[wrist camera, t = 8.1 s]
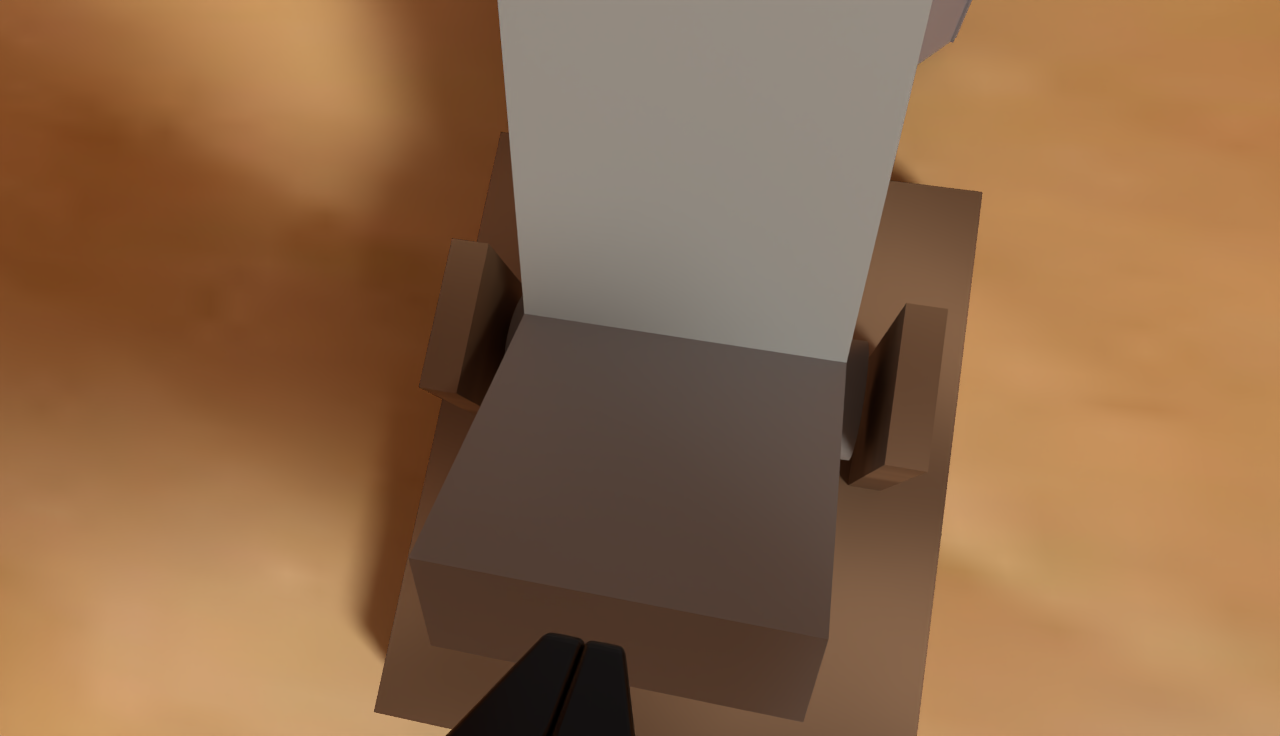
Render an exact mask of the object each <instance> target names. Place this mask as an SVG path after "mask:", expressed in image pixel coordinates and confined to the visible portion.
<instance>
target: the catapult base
mask: <svg viewBox="0 0 1280 736" xmlns="http://www.w3.org/2000/svg"><path fill="white" fill-rule="evenodd" d="M981 200H982V192H978V191H970V190H962V189H954V188H946V187H938V186H929V185H921V184H913V183H905V182H897V181H890V182H889V186H888V190H887V195H886V199H885V203H884V207H883V211H882V216H881V220H880V224H879V228H878V232H877V237H876V241H875V245H874V249H873V254H872V258H871V262H870V266H869V270H868V275H867V279H866V283H865V287H864V291H863V296H862V300H861V304H860V308H859V312H858V317H857V321H856V325H855V329H854V334H853V338H852V339H854V340H861V341H867V342H868V345H869V360H868V373H867V382H866V389H865V396H864V403H863V409H862V415H861V420H860V425H859V430H858V434H857V439H856V443H855V446H854V450H853V453H852V456H851V458H850V460H842V459H840V471H839V487H838V502H837V517H836V533H835V548H834V563H833V579H832V594H831V609H830V625H829V640H828V643H827V646H826V649H825V653H824V656H823V659H822V662H821V666H820V669H819V672H818V676H817V679H816V682H815V685H814V689H813V692H812V695H811V699H810V702H809V705H808V708H807V712H806V715H805V718H804V722H799V721H794V720H789V719H784V718H780V717H775V716H770V715H765V714H760V713H755V712H751V711H746V710H741V709H736V708H731V707H726V706H722V705H717V704H712V703H707V702H702V701H697V700H693V699H688V698H683V697H678V696H673V695H668V694H664V693H659V692H654V691H649V690H644V689H639V688H635V687H630V695H631V703H632V711H633V720H634V728H635V736H917V730H918V722H919V713H920V705H921V697H922V689H923V680H924V672H925V664H926V655H927V647H928V639H929V631H930V622H931V614H932V606H933V597H934V589H935V581H936V573H937V564H938V556H939V548H940V539H941V531H942V523H943V515H944V506H945V498H946V490H947V482H948V473H949V465H950V457H951V448H952V440H953V432H954V424H955V415H956V407H957V399H958V390H959V382H960V374H961V366H962V357H963V349H964V341H965V332H966V324H967V316H968V308H969V299H970V291H971V283H972V274H973V266H974V258H975V250H976V241H977V233H978V225H979V217H980V208H981ZM522 295H523V291H522V280H521V268H520V256H519V245H518V233H517V221H516V210H515V198H514V186H513V175H512V163H511V152H510V140H509V133H504V132H501V134H500V139H499V143H498V148H497V152H496V157H495V162H494V166H493V171H492V175H491V180H490V184H489V189H488V193H487V198H486V203H485V207H484V212H483V216H482V221H481V225H480V230H479V235H478V239H477V242H474V241H467V240H460V239H453V238H452V241H451V246H450V250H449V255H448V259H447V264H446V268H445V273H444V277H443V281H442V286H441V290H440V295H439V299H438V304H437V308H436V313H435V317H434V322H433V326H432V331H431V335H430V339H429V344H428V348H427V353H426V357H425V362H424V366H423V371H422V375H421V380H420V384H419V388H421V389H423V390H425V391H428V392H430V393H432V394H434V395H436V396H438V397H440V398H442V403H441V408H440V413H439V417H438V422H437V426H436V431H435V435H434V440H433V444H432V449H431V454H430V458H429V463H428V467H427V472H426V476H425V481H424V486H423V490H422V495H421V499H420V504H419V508H418V513H417V517H416V522H415V527H414V531H413V536H412V540H411V545H410V549H409V554H408V557H409V555H410V553H411V551H412V549H413V547H414V545H415V543H416V541H417V539H418V536H419V534H420V532H421V530H422V528H423V526H424V524H425V522H426V520H427V517H428V515H429V513H430V511H431V509H432V507H433V505H434V503H435V501H436V499H437V496H438V494H439V492H440V490H441V488H442V486H443V484H444V482H445V480H446V478H447V475H448V473H449V471H450V469H451V467H452V465H453V463H454V461H455V459H456V456H457V454H458V452H459V450H460V448H461V446H462V444H463V442H464V440H465V438H466V435H467V433H468V431H469V429H470V427H471V425H472V423H473V421H474V419H475V417H476V414H477V412H478V410H479V408H480V406H481V404H482V402H483V400H484V398H485V395H486V393H487V391H488V389H489V387H490V385H491V383H492V381H493V379H494V377H495V374H496V372H497V370H498V368H499V366H500V364H501V362H502V360H503V358H504V353H505V346H506V340H507V335H508V331H509V326H510V323H511V319H512V316H513V313H514V311H515V308H516V306H517V304H518V302H519V300H520V298H521V297H522ZM515 664H516V663H514V662H509V661H504V660H499V659H494V658H490V657H485V656H480V655H475V654H470V653H465V652H461V651H456V650H451V649H446V648H441V647H436V646H432V645H431V644H430V640H429V636H428V632H427V628H426V624H425V620H424V617H423V613H422V609H421V605H420V601H419V597H418V594H417V590H416V586H415V582H414V578H413V574H412V570H411V567H410V563H409V559H407V563H406V568H405V572H404V577H403V581H402V586H401V590H400V595H399V600H398V604H397V609H396V613H395V618H394V622H393V627H392V632H391V636H390V641H389V645H388V650H387V654H386V659H385V664H384V668H383V673H382V677H381V682H380V686H379V691H378V695H377V700H376V705H375V709H374V712H376V713H380V714H385V715H390V716H394V717H399V718H403V719H408V720H412V721H417V722H422V723H426V724H431V725H435V726H440V727H444V728H449V729H453V728H454V727H455V726H456V725H457V724H458V723H459V721H460V720H461V719H462V718H463V717H464V716H465V715H466V714H467V713H468V712H469V711H470V710H471V709H472V708H473V707H474V706H475V705H476V704H477V703H478V702H479V701H480V700H481V699H482V698H483V697H484V696H485V695H486V694H487V693H488V691H489V690H490V689H491V688H492V687H493V686H494V685H495V684H496V683H497V682H498V681H499V680H500V679H501V678H502V677H503V676H504V675H505V674H506V673H507V672H508V671H509V670H510V669H511V668H512V667H513V666H514V665H515Z"/></svg>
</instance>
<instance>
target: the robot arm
mask: <svg viewBox="0 0 1280 736" xmlns="http://www.w3.org/2000/svg"><path fill="white" fill-rule="evenodd" d="M446 736H635V728H634V720H633V711H632V703H631V695H630V686H629V678H628V669H627V661H626V654H625V650H624V649H623V648H622V647H621V646H619V645H614V644H609V643H604V642H599V641H594V640H593V641H588V642H587V643H586V644H585V643H584V641H583V640H582V639H581V638H579V637H574V636H569V635H564V634H559V633H554V632H549V633H547V634H545V635H543V636H542V637H541V638H540V639H539V640H538V641H537V642H536V643H535V644H534V645H533V646H532V647H531V648H530V649H529V650H528V651H527V652H526V653H525V654H524V655H523V656H522V657H521V658H520V659H519V660H518V661H517V663H516V664H515V665H514V666H513V667H512V668H511V669H510V670H509V671H508V672H507V673H506V674H505V675H504V676H503V677H502V678H501V679H500V680H499V681H498V682H497V683H496V684H495V685H494V686H493V687H492V688H491V689H490V690H489V691H488V693H487V694H486V695H485V696H484V697H483V698H482V699H481V700H480V701H479V702H478V703H477V704H476V705H475V706H474V707H473V708H472V709H471V710H470V711H469V712H468V713H467V714H466V715H465V716H464V717H463V718H462V719H461V720H460V721H459V723H458V724H457V725H456V726H455V727H454V728H453V729H452V730H451V731H450V732H449V733H448V734H447V735H446Z"/></svg>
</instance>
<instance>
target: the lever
mask: <svg viewBox="0 0 1280 736" xmlns="http://www.w3.org/2000/svg"><path fill="white" fill-rule="evenodd" d="M932 1H933V0H498V12H499V23H500V35H501V47H502V58H503V70H504V82H505V93H506V105H507V117H508V128H509V140H510V152H511V163H512V175H513V186H514V198H515V210H516V221H517V233H518V245H519V256H520V268H521V280H522V291H523V295H522V297H521V298H520V300H519V302H518V304H517V306H516V308H515V311H514V313H513V316H512V319H511V323H510V326H509V331H508V335H507V340H506V346H505V353H504V358H503V360H502V362H501V364H500V366H499V368H498V370H497V372H496V374H495V377H494V379H493V381H492V383H491V385H490V387H489V389H488V391H487V393H486V395H485V398H484V400H483V402H482V404H481V406H480V408H479V410H478V412H477V414H476V417H475V419H474V421H473V423H472V425H471V427H470V429H469V431H468V433H467V435H466V438H465V440H464V442H463V444H462V446H461V448H460V450H459V452H458V454H457V456H456V459H455V461H454V463H453V465H452V467H451V469H450V471H449V473H448V475H447V478H446V480H445V482H444V484H443V486H442V488H441V490H440V492H439V494H438V496H437V499H436V501H435V503H434V505H433V507H432V509H431V511H430V513H429V515H428V517H427V520H426V522H425V524H424V526H423V528H422V530H421V532H420V534H419V536H418V539H417V541H416V543H415V545H414V547H413V549H412V551H411V553H410V555H409V557H408V559H409V563H410V567H411V570H412V574H413V578H414V582H415V586H416V590H417V594H418V597H419V601H420V605H421V609H422V613H423V617H424V620H425V624H426V628H427V632H428V636H429V640H430V644H431V645H432V646H436V647H441V648H446V649H451V650H456V651H461V652H465V653H470V654H475V655H480V656H485V657H490V658H494V659H499V660H504V661H509V662H514V663H517V661H518V660H519V659H520V658H521V657H522V656H523V655H524V654H525V653H526V652H527V651H528V650H529V649H530V648H531V647H532V646H533V645H534V644H535V643H536V642H537V641H538V640H539V639H540V638H541V637H542V636H543V635H545V634H547V633H549V632H554V633H559V634H564V635H569V636H574V637H579V638H581V639H582V640H583V641H584V643H585V644H586V643H587V642H588V641H593V640H594V641H599V642H604V643H609V644H614V645H619V646H621V647H622V648H623V649H624V650H625V654H626V661H627V669H628V678H629V686H630V687H635V688H639V689H644V690H649V691H654V692H659V693H664V694H668V695H673V696H678V697H683V698H688V699H693V700H697V701H702V702H707V703H712V704H717V705H722V706H726V707H731V708H736V709H741V710H746V711H751V712H755V713H760V714H765V715H770V716H775V717H780V718H784V719H789V720H794V721H799V722H804V718H805V715H806V712H807V708H808V705H809V702H810V699H811V695H812V692H813V689H814V685H815V682H816V679H817V676H818V672H819V669H820V666H821V662H822V659H823V656H824V653H825V649H826V646H827V643H828V640H829V625H830V609H831V594H832V579H833V563H834V548H835V533H836V517H837V502H838V487H839V471H840V459H842V460H850V458H851V456H852V453H853V450H854V446H855V443H856V439H857V434H858V430H859V425H860V420H861V415H862V409H863V403H864V396H865V389H866V382H867V373H868V360H869V345H868V342H867V341H861V340H854V339H852V338H853V334H854V329H855V325H856V321H857V317H858V312H859V308H860V304H861V300H862V296H863V291H864V287H865V283H866V279H867V275H868V270H869V266H870V262H871V258H872V254H873V249H874V245H875V241H876V237H877V232H878V228H879V224H880V220H881V216H882V211H883V207H884V203H885V199H886V195H887V190H888V186H889V182H890V178H891V173H892V169H893V165H894V161H895V157H896V152H897V148H898V144H899V140H900V136H901V131H902V127H903V123H904V119H905V114H906V110H907V106H908V102H909V98H910V93H911V89H912V85H913V81H914V77H915V72H916V68H917V64H918V60H919V55H920V51H921V47H922V43H923V39H924V34H925V30H926V26H927V22H928V18H929V13H930V9H931V5H932Z"/></svg>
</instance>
